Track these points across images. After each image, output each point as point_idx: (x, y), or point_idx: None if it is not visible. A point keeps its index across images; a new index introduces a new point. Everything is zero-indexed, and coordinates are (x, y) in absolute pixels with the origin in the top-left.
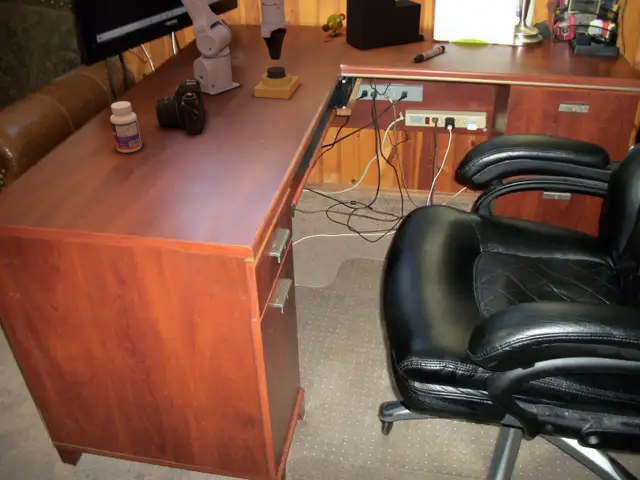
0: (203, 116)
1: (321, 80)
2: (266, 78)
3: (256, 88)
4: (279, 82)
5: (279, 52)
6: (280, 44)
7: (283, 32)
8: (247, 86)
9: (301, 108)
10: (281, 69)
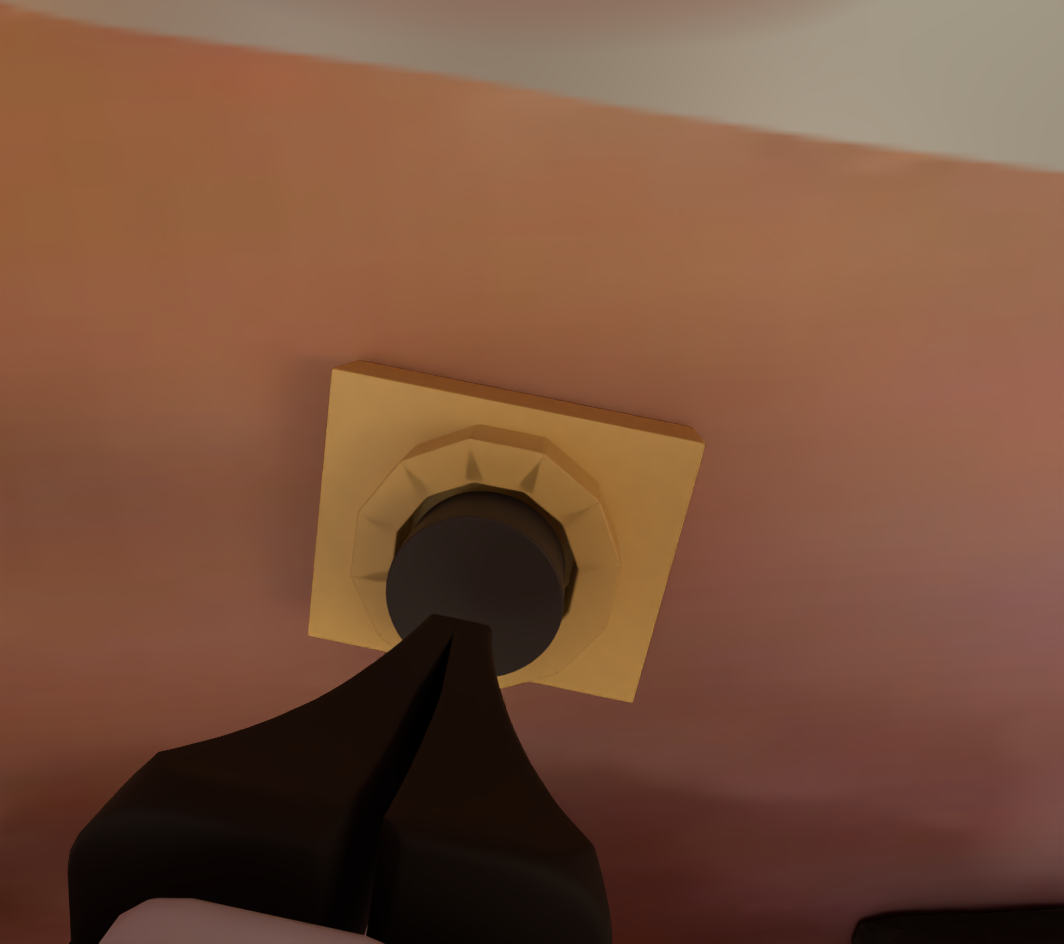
0: (1003, 919)
1: (228, 161)
2: (567, 649)
3: (635, 686)
4: (613, 532)
5: (492, 667)
6: (474, 727)
7: (420, 858)
8: None
9: (936, 307)
10: (485, 550)
